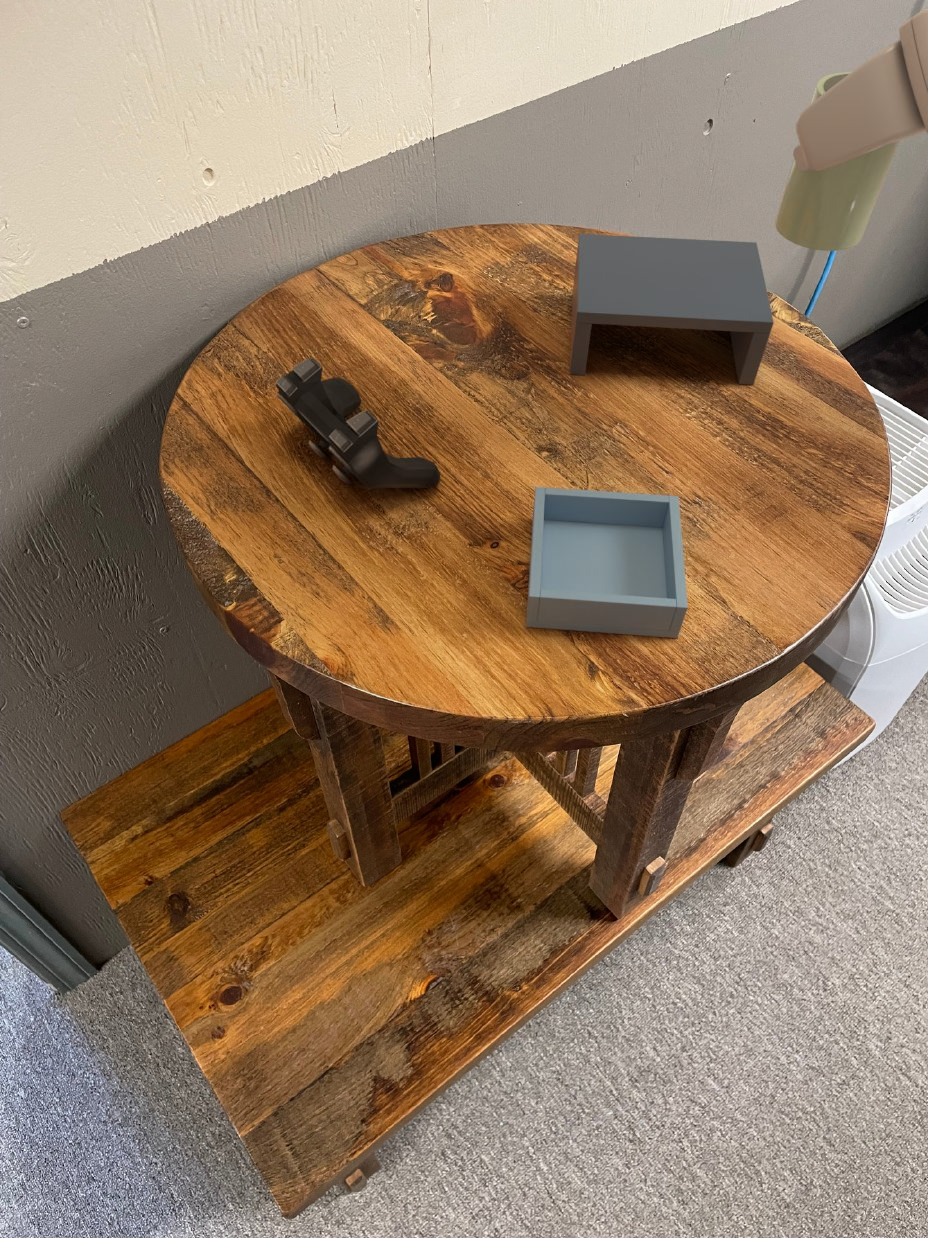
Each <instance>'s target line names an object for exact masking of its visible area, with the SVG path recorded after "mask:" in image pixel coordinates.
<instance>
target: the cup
mask: <svg viewBox="0 0 928 1238" xmlns="http://www.w3.org/2000/svg"><path fill="white" fill-rule="evenodd" d="M851 72H852V71H844V72H843V71H842V72H835V73H831V74H828V75H825V76H823V77H821V78H819V80H818V81H817V82H816V84H815V88H814V91H813V95H812V98H811V101H810V104H811V103H812V102H814V101H815V100H816V99H818V98H819V97H820V96H821V95H823V94H824V93H825V92H827V91H828V90H829V89H830V88H832V87H833V86H834V85H836V84H837V83H838V82H839V81H841V80H842V79H843V78H845V77H846V76H847V75H849V74H850V73H851ZM900 142H901V140H899V141H897V142H894V143H891V144H888V145H886V146H883V147H881V148H878V149H876V150H873V151H871V152H868V153H866V154H863V155H861V156H858V157H856V158H853V159H850V160H848V161H845V162H843V163H840V164H838V165H835V166H832V167H830V168H827V169H824V170H820V171H811V170H807V171H805V172H801V171H799V170H798V168H797V165H796V162H795V158H794V157H793V160H792V164H791V167H790V170H789V174H788V177H787V181H786V184H785V187H784V190H783V193H782V197H781V201H780V204H779V207H778V209H777V213H776V217H775V220H774V226H775V229H776V231H777V232H778V233H779V234H780V235H781V236H782V238H784V239H786V240H787V241H789V242H791V243H792V244H795V245H797V246H800V247H803V248H807V249H810V250H816V251H825V252H835V251H838V252H839V251H843V250H844V251H845V250H848V249H851V248H853V247H855V246H857V245H858V244H860V242H861V241H862V239H863V236H864V235H865V231H866V228H867V226H868V223H869V221H870V219H871V217H872V216H871V215H872V214H873V211H874V208H875V206H876V203H877V200H878V198H879V196H880V193H881V190H882V188H883V186H884V183H885V180H886V177H887V175H888V173H889V170H890V168H891V165H892V162H893V160H894V157H895V155H896V152H897V149H898V147H899V145H900ZM798 145H800V143H799V142H798V144H797V146H798Z"/></svg>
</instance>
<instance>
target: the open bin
mask: <svg viewBox="0 0 928 1238" xmlns="http://www.w3.org/2000/svg"><path fill="white" fill-rule="evenodd" d="M533 500H534V501H533V511H532V522H531V523H532V524H531V539H530V554H529V555H530V556H529V571H528V573H529V574H528V587H527V603H526V617H525V618H526V620H525V627H526V628H535V629H547V630H548V629H549V630H550V629H551V630H562V631H576V632H589V633H604V634H617V635H630V636H644V637H656V638H657V637H658V638H669V639H678V638H679V635H680V632H681V629H682V626H683V623H684V621H685V617H686V614H687V611H688V609H689V607H688V594H687V593H688V592H687V582H686V570H685V569H686V568H685V558H684V546H683V535H682V533H683V532H682V521H681V509H680V508H681V507H680V497H679V495H669V494H668V495H667V494H666V495H665V494H652V493H651V494H650V493H636V492H635V493H634V492H621V491H620V492H619V491H606V490H590V489H577V488H576V489H574V488H560V487H545V486H535V489H534V499H533Z"/></svg>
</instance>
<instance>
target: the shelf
mask: <svg viewBox="0 0 928 1238" xmlns="http://www.w3.org/2000/svg"><path fill="white" fill-rule="evenodd" d="M573 276H574V277H573V284H572V292H571V293H572V294H571V320H570V321H571V322H570V323H571V325H570V353H569V355H570V356H569V357H570V358H569V375H573V376H575V375H576V376H577V375H578V376H585V375H586V371H587V370H586V369H587V364H588V363H587V362H588V356H589V349H590V340H591V334H592V325H612V326H627V327H628V326H629V327H647V328H648V327H649V328H663V329H664V328H665V329H683V330H684V329H686V330H699V331H701V330H702V331H723V332H729V334H730V340H731V346H732V347H731V348H732V354H733V359H734V365H735V371H736V377H737V382H738V383H737V384H738V385H751V386H754V384H755V382H756V378H757V376H758V372H759V370H760V366H761V363H762V360H763V357H764V354H765V351H766V348H767V344H768V341H769V338H770V335H771V332H772V329H773V326H774V324H775V323H774V318H773V317H774V316H773V313H772V308H771V303H770V299H769V295H768V289H767V284H766V280H765V275H764V271H763V266H762V261H761V256H760V252H759V248H758V243H757V241H756V242H755V241H732V240H713V239H693V238H692V239H691V238H674V237H673V238H672V237H655V236H654V237H653V236H650V237H649V236H631V235H614V234H613V235H612V234H611V235H610V234H593V233H592V234H590V233H578V240H577V246H576V258H575V266H574V275H573Z"/></svg>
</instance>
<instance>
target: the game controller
mask: <svg viewBox="0 0 928 1238" xmlns="http://www.w3.org/2000/svg"><path fill="white" fill-rule="evenodd" d="M291 369H292V370H291V371H289V372H288V373H287V374H285V375H283V374H282V375H281V376H280V377H279V378H278V379H277V380H276V381H275V383H276V384H275V386H276V388H277V390H278V391H277V394H276V396H277V398H278V400H280V401H281V402H282V403H283V404H284V405H285V406H286V407H287V408H288V409H289V410H290V411H291V412H292V413H293V414H294V416H296V417H297V418H298V419H299V420H300V421H301V422H302V423H303V424H304V425H305V426H306V427H307V428H308V429H309V430H310V431H311V432H312V433H313V434H314V435H315V436H317V438H318V439H319V440H320V441H319V442H318V443H317V444H316V443H315V442H314V441H313V440H311V439H308V445H309V447H310V448H311V450H312V451H313V452H314V454H316V455H317V456H319V458H322V459H324V460H326V459H328V458H329V457H328V455H327V454H326V453H325V452H324V450H325V449H326V448H328V451H329V452H330V453H332V455H333V456H334V457H335V458H336V459H337V460H338V461H339V462H340V463H341V464H342V465H343V467H342V469H340V468H339V467H337V466H336V465H335V464H332V471H333V472H334V473H335V475H336V476H337V478H338V479H339V480H341V481H342V482H344V483H345V484H346V485H351V484H353V481H351V479H350V478H349V477H348V475H350V473H351V474H352V475H354V477H355V478H356V479H357V480H358V481H359V482H360V483H361V484H362V485H363V486H364V487H366V488H367V489H368V491H371V490H373V489H428V488H433V487H437V486H438V485H439V484H440V483H441V472H440V470H439V468H438V466H437V465H436V463H435V462H434V461H432V460H429V459H427V458H425V457H423V456H411V457H397V456H394V455H390V454H387V453H385V451H384V448H383V447H382V444H381V442H380V438H379V437H378V429H379V419H378V418H376V416H375V415H373V413H372V412H371V411H369V410H367V411H365V410H362V411H361V412H359V413H357V414H356V415H354V416H353V417H351V418H349V419H348V420H347V419H346V418H345V417H346V416H348V415H350V414H352V413H353V412H355V411H357V410H358V409H359V408H360V407H361V404H362V399H361V397H360V394H359V392H358V390H356V388H355V387H354V385H352V384H351V383H350V382H349V381H348V380H346V379H344V378H341V377H331V378H328V379H323V380H322V376H323V366H322V365H321V364H320V363H319V362H318V361H317V360H316V359H315V358H311V359H310V358H309V357H308V358H306V359H305V360H302V361H301V362H299V363H297V364H296V365H295V366H293V367H291Z"/></svg>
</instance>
